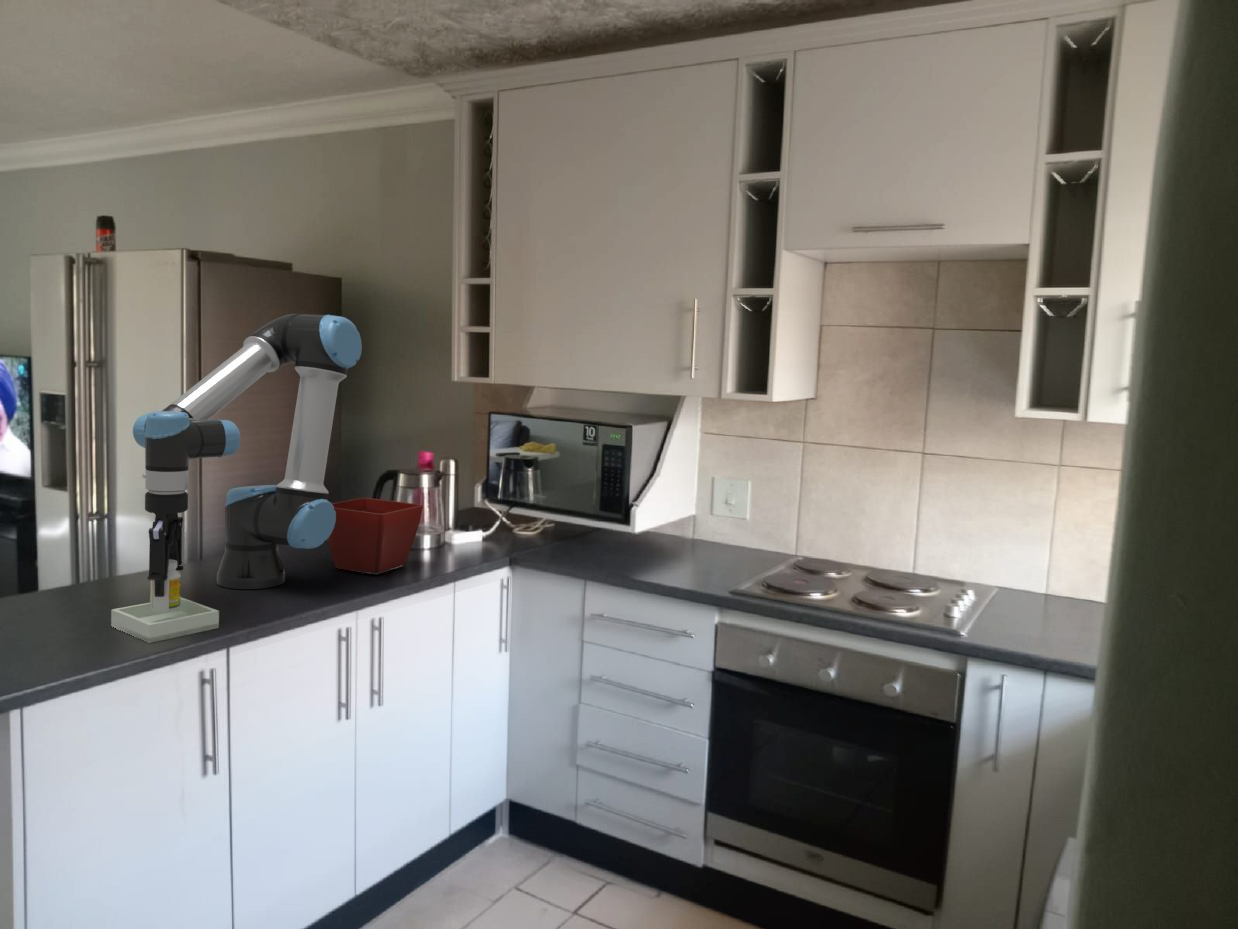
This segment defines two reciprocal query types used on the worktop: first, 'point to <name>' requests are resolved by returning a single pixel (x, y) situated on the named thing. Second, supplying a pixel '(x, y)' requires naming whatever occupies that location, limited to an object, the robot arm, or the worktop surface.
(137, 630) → the tray
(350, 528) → the plant pot
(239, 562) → the robot arm
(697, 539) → the worktop surface
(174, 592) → the supplement bottle
